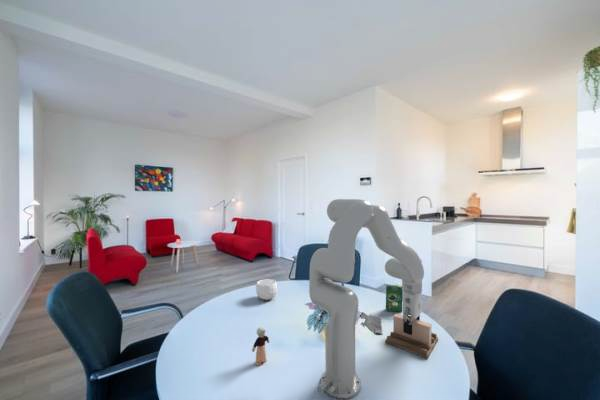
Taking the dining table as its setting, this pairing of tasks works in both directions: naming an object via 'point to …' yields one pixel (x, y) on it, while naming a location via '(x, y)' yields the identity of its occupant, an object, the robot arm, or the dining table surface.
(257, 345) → the grandmother figurine
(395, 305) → the coffee box
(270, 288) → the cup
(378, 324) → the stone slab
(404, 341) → the rack
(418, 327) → the tan flat block
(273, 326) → the dining table surface
